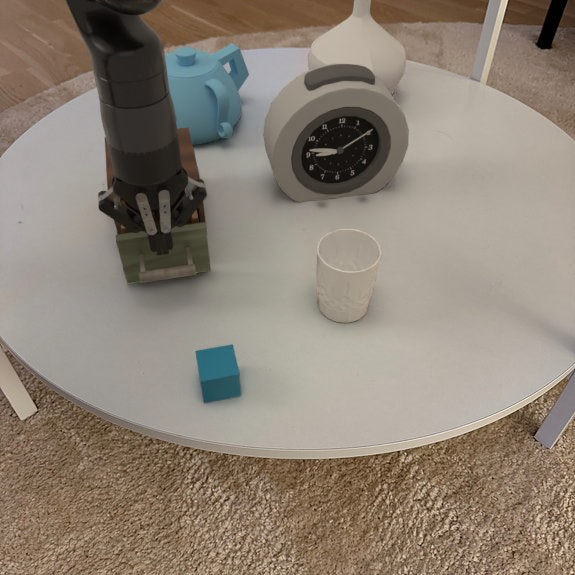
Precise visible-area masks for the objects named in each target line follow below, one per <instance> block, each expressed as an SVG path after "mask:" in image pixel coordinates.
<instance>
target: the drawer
mask: <svg viewBox="0 0 575 575" xmlns="http://www.w3.org/2000/svg"><path fill="white" fill-rule="evenodd" d="M184 195H185V190H183V192H182V193H181V195H180V196H179V198H178V199H177V200H176V202H175V203H174V204H173V205H172V206H170V212H172V211H173V209H174V208H175V207H176V205H177V204H178V203H179V201H180V200H181V199H182V197H183V196H184ZM120 199H121V202H122V203H124V204H125V205H126V206H128V207H129V208H131V209H132V210H134V211H135V212H136V213H138V214H139V216H141V213H140V210H137V209H135V208H133V207H132V206H131V205H129V204H128V203H127V202H125V201H124V200H123V199H122V198H120ZM153 212H154V215H155V220H156V223H159V210H157V209H155V210H153ZM158 228H159V226H158ZM206 229H207V225H206V226H205V222H203V223H199V220H198V214H197V210H196V211H195V212H194V214H193V215H192V216H191V217H190V219H189V220H188V221H187V223H186V224H185V225H184V226H183V227H177V226H176V227H174V228H172V230H171V235H172V241H173V249H171V250H168V251H169V254H165V255H158V256H157V252H152V251H151V249H150V244H149V239H148V235H147V233H146V232H143V231H140V232H139V233H133V232H131V231H130V230H128V229H127V228H125V227H124V226H122V225H121V230H122V234H119V235H118V234H115V242H116V246H117V250H118V254H119V258H120V261H121V265H122V269H123V273H124V276H125V281H126V284H127V285H128V284H134V283H140V284H144V283H151V282H157V281H164V280H170V279H176V278H182V277H189V276H196V275H197V273H198V274H199V273H204V272H210V271H212V268H211V259H210V252H209V241H208V231H207V232H206ZM159 234H160V233H159ZM161 245H162V244H161ZM162 252H163V250H162Z"/></svg>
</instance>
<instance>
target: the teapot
mask: <svg viewBox="0 0 575 575" xmlns="http://www.w3.org/2000/svg"><path fill="white" fill-rule="evenodd" d="M165 59H166V66H167V74H168V81H169V89H170V93H171V97H172V100H173V104H174V109H175V115H176V119H177V121H176V124H177V129H179V128H189V132H190V136H191V141H192V145H193V146H194V145H195V146H196V145H203V144H207V143H210V142H214V141H217V140H219V139H221V138H222V139H228V138H231V137H232V136H233V134H234V127H235V125H236V124H237V123H238V122H239V121H240V117H241V116H242V110H243V109H242V101H241V96H240V94H239V91H240V89H241V88H242V86H243V85H244V83H245V82H246V80H247V78H249V76H250V73H249V70H248V67H247V65H246V62H245V58H244V56H243V54H242V51H241V48H240V47H238V46H237V45H235V44H234V43H230V44H228V45H226V46H224V47H222V48H221V49H219V50H217V51H215V52H214V53H210V52H207V51H204V50H201V49H196V48H195V47H192V46H181V47H178V48H176V49H175V50H174V51H171V52H168V53H166V54H165ZM226 64H228V65H229V68H230V71H229V72H228V70H226V68H225V67H224V66H225V65H226Z"/></svg>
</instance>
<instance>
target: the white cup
mask: <svg viewBox="0 0 575 575" xmlns="http://www.w3.org/2000/svg"><path fill="white" fill-rule="evenodd" d="M382 253H383V251H382V247H381V245H380V243H379V241H378V240H377V239H376V238H375V237H374V236H372V235H371V234H369V233H368V232H365V231H363V230H360V229H355V228H337V229H333V230H331V231H329V232H326V233H325V234H324V235H323V236H322V237H321V238H320V239H319V240H318V242H317V245H316V293H317V305H318V310H319V311H320V313H322V314H323V316H324V317H325V318H326V319H329V320H331V321H333V322H336V323H343V324H345V323H346V324H349V323H352V322H355V321H356V322H357V321H359V320H360V319H361V318H362V317H364V316H365V315H366V314H367V312H368V307H369V304H370V300H371V298H372V297H373V291H374V288H375V284H376V280H377V275H378V272H379V271H378V270H379V268H380V263H381V259H382V255H383V254H382Z"/></svg>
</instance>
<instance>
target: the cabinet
mask: <svg viewBox="0 0 575 575" xmlns="http://www.w3.org/2000/svg"><path fill="white" fill-rule="evenodd" d="M177 131H178V139H179V147H180V154H181V162H182V166H183V168H184V169H185V170H186V172H187V177H189V178H191V179H193V180H197V179H201V176H200V172H199V167H198V162H197V158H196V155H195V154H196V153H195V150H194V145H192V141H191V136H190V132H189V128H179V129H177ZM104 148H105V150H104V152H105V169H106V170H105V171H106V187H107V189H106V192H107V191H108V190H109V189H110V188H111V187H112V179H113V177H114V172H113V167H112V163H111V159H110V154H109V150H108V146H107V141H106V136H104ZM184 190H185V189H184ZM197 214H198V220H199V223H203V222H205V226H206V227H207V221H206V212H205V205H204V201H203V202H202V203H201V205H200V206H199V207H198V208H197ZM113 221H114V222H113V223H114V224H115V229H116V235H119V234H122V230H121V224H119V223H118V222H116V221H115V220H113ZM206 232H207V233H208V231H207V228H206Z"/></svg>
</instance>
